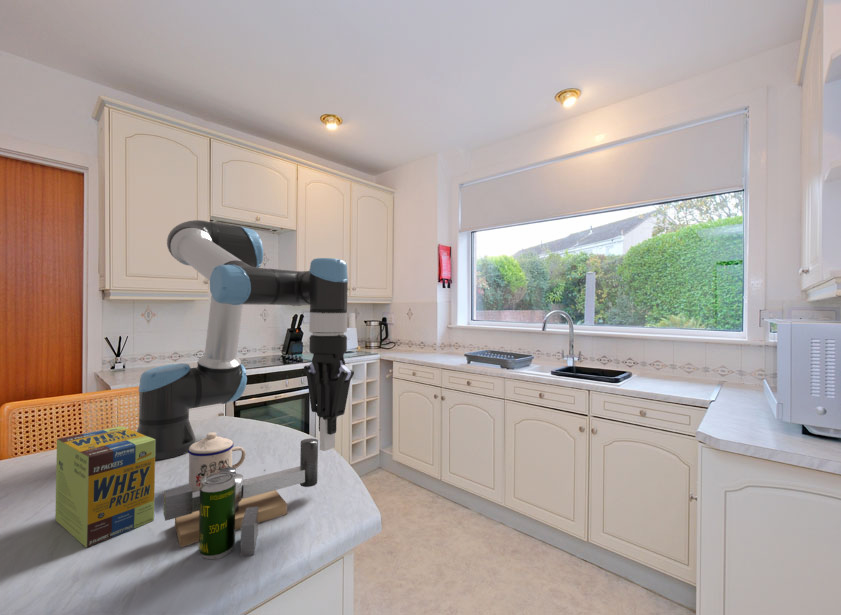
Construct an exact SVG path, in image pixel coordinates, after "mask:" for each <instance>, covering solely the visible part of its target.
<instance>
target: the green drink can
mask: <svg viewBox="0 0 841 615" xmlns="http://www.w3.org/2000/svg"><path fill="white" fill-rule="evenodd" d="M235 503H236V480H235V479H234V474H232V473H228V472H221V473H215V474H212V475H209V476H207V477H205V478H204V479H202V482H201V486H200V503H199V542H198V553H199V554H200V556H201V557H202V558H203V559H205V560H215V559H219V558H222V557H224V556H227V555H228V554H229V553H231V551H232V550H233V548H234V546H235V542H236V530H235Z"/></svg>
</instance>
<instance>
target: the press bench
mask: <svg viewBox="0 0 841 615" xmlns="http://www.w3.org/2000/svg"><path fill="white" fill-rule="evenodd" d="M250 507H258V524H259V523H262V522H266V521H269V520H272V519H275V518H279V517H281V516H284V515H287V514H288V503H287V502H286V501H285V499H284V498H283V497H282V495H281V494H279V492H278V490H274V491H270V492H267V493H263V494H259V495H256V496H252V497H248V498H245V499H243V498H242V500H241V501H240V502H239V510H238V511H237V512H236V513H235V531H236V530H239V529H240V530H241V525H242V522H243V518H244V514H245V511H246V508H250ZM174 527H175V532H176V536H177V540H178V543H179V547H180V548H182V547H186V546H189V545H193V544H195V543H199V511H196V512H192V514H189V515H185V516H181V517H178V518H174Z"/></svg>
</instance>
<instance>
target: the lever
mask: <svg viewBox="0 0 841 615" xmlns="http://www.w3.org/2000/svg"><path fill="white" fill-rule="evenodd" d="M299 452H300V458H299V459H300V461H299V463H300V465H299V466H296V467H295V466H294V467H292V468H287V469H283V470H278V471H275V472H270V473H267V474H262V475H258V476H254V477H251V478H250V477H249V478H246V479H243V478H244V476H243V475H242V474H240V473H238V472H236V476H235V477H234V479H235V480H236V503H235V504H237V503H238V502H240V501H241V500H242V498H243V499H245V498H248V497H252V496H256V495H259V494H263V493H267V492H270V491H274V490H276V491H278V490H281V489H284V488H288V487H292V486H296V485H300V486H301V487H304V488H310V487H314V486H316V485H318V476H319V475H318V474H319V472H318V467H319V466H318V464H319V460H318V458H319V439H318V438H317V439H316V438H305V439H301V441H300V451H299ZM199 503H200V491H197V492H193V491H192V488H191V486H190V485H189V484H186V485H183V486H177V487H175V488H169V489H165V490H164V491H163V516H164V521H165V522H166V521H170V520H175V518H178V517H181V516H185V515H189V514H192V512H196V511H199Z"/></svg>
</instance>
